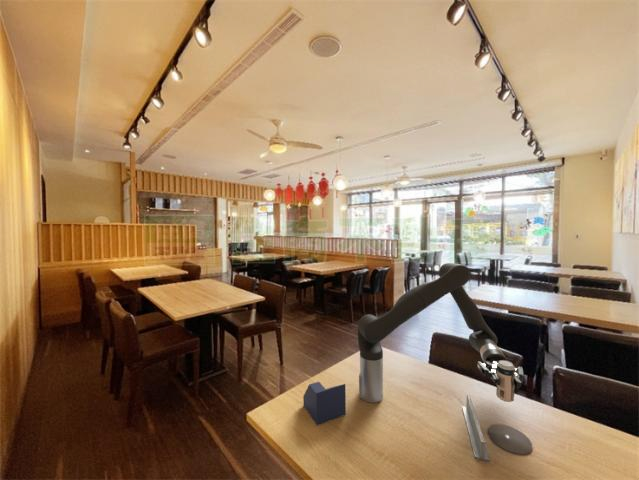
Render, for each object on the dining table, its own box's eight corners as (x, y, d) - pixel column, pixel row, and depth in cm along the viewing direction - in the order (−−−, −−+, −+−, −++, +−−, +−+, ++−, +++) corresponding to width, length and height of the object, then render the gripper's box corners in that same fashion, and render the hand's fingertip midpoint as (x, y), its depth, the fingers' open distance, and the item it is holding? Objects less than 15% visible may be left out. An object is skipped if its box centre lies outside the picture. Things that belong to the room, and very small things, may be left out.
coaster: (492, 448, 86) (492, 446, 86) (483, 422, 98) (483, 420, 98) (538, 458, 83) (538, 456, 83) (523, 430, 94) (523, 428, 94)
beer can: (516, 404, 87) (518, 367, 86) (500, 402, 88) (501, 366, 87) (509, 394, 92) (510, 359, 91) (493, 393, 93) (494, 358, 92)
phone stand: (330, 396, 114) (329, 368, 113) (345, 414, 103) (345, 383, 102) (303, 405, 108) (302, 376, 108) (316, 425, 98) (316, 393, 97)
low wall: (475, 459, 83) (475, 440, 82) (462, 408, 105) (462, 392, 105) (490, 462, 81) (490, 443, 81) (473, 410, 104) (474, 394, 104)
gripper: (472, 345, 105) (483, 369, 89) (516, 350, 101) (536, 376, 84) (471, 364, 106) (482, 391, 90) (515, 370, 101) (535, 399, 85)
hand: (508, 383), depth 87 cm, fingers closed on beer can, 4 cm apart
